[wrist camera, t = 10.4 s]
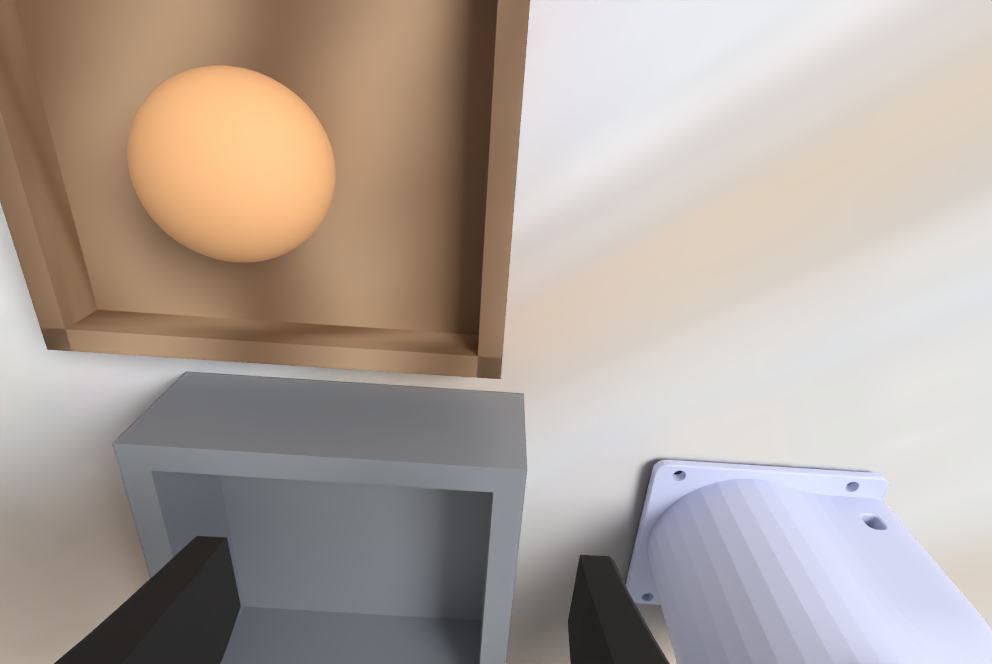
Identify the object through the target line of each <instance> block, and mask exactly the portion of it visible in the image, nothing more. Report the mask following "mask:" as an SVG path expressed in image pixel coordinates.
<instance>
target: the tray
mask: <svg viewBox="0 0 992 664" xmlns="http://www.w3.org/2000/svg"><path fill="white" fill-rule="evenodd" d="M529 6H530V0H0V201H1V205H2V208H3V211H4V214H5V217H6V220H7V224H8V227H9V230H10V233H11V236H12V239H13V243H14V246H15V249H16V252H17V255H18V258H19V261H20V265H21V268H22V271H23V274H24V277H25V280H26V284H27V287H28V290H29V293H30V296H31V299H32V302H33V306H34V309H35V312H36V315H37V318H38V321H39V325H40V328H41V331H42V334H43V337H44V340H45V343H46V347H47V349H48V350H64V351H79V352H94V353H109V354H125V355H140V356H155V357H171V358H186V359H201V360H217V361H232V362H247V363H263V364H278V365H293V366H309V367H324V368H339V369H355V370H370V371H385V372H401V373H416V374H431V375H447V376H462V377H477V378H492V379H501V367H502V354H503V341H504V328H505V315H506V302H507V289H508V277H509V264H510V251H511V238H512V225H513V212H514V199H515V186H516V174H517V161H518V148H519V135H520V122H521V109H522V96H523V84H524V71H525V58H526V45H527V32H528V19H529ZM212 65H226V66H233V67H240V68H245V69H249V70H253V71H256V72H259V73H261V74H264V75H266V76H268V77H270V78H272V79H274V80H276V81H277V82H279V83H281V84H283V85H284V86H286V87H287V88H288V89H290V90H291V91H293V92H294V93H295V94H296V95H297V96H298V97H300V98H301V99H302V100H303V101H304V102H305V103H306V104H307V105H308V107H309V108H310V109H311V110H312V111H313V113H314V114H315V115H316V117H317V118H318V120H319V121H320V123H321V125H322V126H323V128H324V130H325V132H326V134H327V137H328V139H329V142H330V144H331V147H332V151H333V155H334V160H335V169H336V183H335V190H334V195H333V199H332V202H331V206H330V208H329V211H328V213H327V215H326V217H325V219H324V220H323V222H322V223H321V225H320V226H319V228H318V229H317V230H316V231H315V232H314V233H313V235H312V236H311V237H310V238H309V239H307V240H306V241H305V242H304V243H303V244H301V245H300V246H298V247H297V248H295V249H293V250H292V251H290V252H288V253H286V254H284V255H281V256H279V257H276V258H272V259H269V260H265V261H259V262H228V261H222V260H218V259H214V258H210V257H208V256H205V255H202V254H199V253H197V252H195V251H193V250H191V249H189V248H187V247H185V246H183V245H182V244H180V243H179V242H177V241H176V240H174V239H173V238H172V237H170V236H169V235H168V234H167V233H166V232H164V231H163V230H162V229H161V228H160V227H159V226H158V225H157V224H156V222H155V221H154V220H153V219H152V218H151V217H150V215H149V214H148V212H147V211H146V209H145V208H144V207H143V205H142V203H141V201H140V199H139V198H138V196H137V194H136V191H135V189H134V186H133V184H132V180H131V177H130V173H129V168H128V161H127V146H128V138H129V133H130V129H131V126H132V122H133V120H134V117H135V115H136V113H137V111H138V109H139V108H140V106H141V105H142V103H143V102H144V100H145V99H146V98H147V97H148V96H149V95H150V94H151V93H152V91H153V90H154V89H155V88H156V87H158V86H159V85H160V84H162V83H163V82H165V81H166V80H168V79H170V78H171V77H173V76H175V75H177V74H179V73H181V72H184V71H187V70H190V69H194V68H199V67H206V66H212Z"/></svg>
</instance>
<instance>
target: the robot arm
mask: <svg viewBox="0 0 992 664" xmlns="http://www.w3.org/2000/svg"><path fill="white" fill-rule="evenodd" d="M676 471H682V472H681V473H680V474H676V475H675V474H674V473H675V472H676ZM850 482H852V483H851V484H849V485H847V484H848V483H850ZM888 488H889V483H888V481H887V480H886V479H885V477H884V476H882V475H881V474H878V473H869V472H853V471H837V470H822V469H806V468H791V467H775V466H759V465H744V464H728V463H713V462H697V461H681V460H661V461H659V462H657V463H656V464H655V465H654V466H653V469H652V473H651V477H650V481H649V486H648V490H647V494H646V499H645V503H644V507H643V512H642V516H641V520H640V525H639V529H638V533H637V538H636V542H635V546H634V551H633V555H632V559H631V564H630V568H629V572H628V576H627V581H626V585H625V583H624V582H623V579H622V577H621V575H620V573H619V571H618V569H617V567H616V565H615V563H614V561H613V560H612V559H611V558H610V557H609V556H589V555H580V558H579V563H578V569H577V574H576V580H575V585H574V591H573V597H572V602H571V608H570V613H569V619H568V630H569V645H570V659H571V664H670V663H669V662H668V660H667V658H666V657H665V655H664V653H663V652H662V650H661V649H660V647H659V645H658V644H657V642H656V640H655V639H654V637H653V635H652V633H651V632H650V630H649V628H648V626H647V625H646V623H645V621H644V619H643V618H642V616H641V614H640V612H639V610H638V608H637V606H636V605H635V603H637V604H653V605H661V607H662V611H663V614H664V618H665V622H666V625H667V629H668V632H669V636H670V640H671V643H672V647H673V650H674V654H675V657H676V661H677V664H992V630H991V628H990V627H989V625H988V624H987V623H986V622H985V620H984V619H983V618H982V616H981V615H980V614H979V613H978V611H977V610H976V609H975V608H974V607H973V606H972V604H971V603H970V602H969V601H968V600H967V598H966V597H965V596H964V595H963V594H962V593H961V591H960V590H959V589H958V588H957V587H956V586H955V584H954V583H953V582H952V581H951V580H950V578H949V577H948V576H947V575H946V574H945V573H944V571H943V570H942V569H941V568H940V567H939V566H938V564H937V563H936V562H935V561H934V560H933V558H932V557H931V556H930V555H929V554H928V553H927V551H926V550H925V549H924V548H923V547H922V546H921V544H920V543H919V542H918V541H917V540H916V539H915V537H914V536H913V535H912V534H911V533H910V531H909V530H908V529H907V528H906V527H905V526H904V524H903V523H902V522H901V521H900V520H899V519H898V517H897V516H896V515H895V514H894V513H893V511H892V510H891V509H890V508H889V507H888V506H887V504H886V503H885V502H884V501H883V499H884V497H885V495H886V493H887V491H888ZM646 593H648V594H646ZM240 608H241V604H240V599H239V594H238V589H237V584H236V579H235V574H234V569H233V564H232V559H231V554H230V549H229V544H228V539H227V537H209V536H196V537H195V538H194V539H193V540H191V541H190V542H189V543H188V544H187V545H186V546H185V547H184V548H183V549H182V550H181V551H179V552H178V553H177V554H176V555H175V556H174V557H173V558H172V559H171V560H170V561H169V562H168V563H167V564H166V565H164V566H163V567H162V568H161V569H160V570H159V571H158V572H157V573H156V574H155V575H154V576H153V577H152V578H151V579H149V580H148V581H147V582H146V583H145V584H144V585H143V586H142V587H141V588H140V589H139V590H138V591H137V592H135V593H134V594H133V595H132V596H131V597H130V598H129V599H128V600H127V601H126V602H124V603H123V604H122V605H121V606H120V607H119V608H118V609H117V610H115V611H114V612H113V613H112V614H111V615H110V616H109V617H108V618H107V619H105V620H104V621H103V622H102V623H101V624H100V625H99V626H98V627H96V628H95V629H94V630H93V631H92V632H91V633H90V634H89V635H87V636H86V637H85V638H84V639H83V640H82V641H80V642H79V643H78V644H77V645H76V646H74V647H73V648H72V649H71V650H70V651H68V652H67V653H66V654H65V655H64V656H62V657H61V658H60V659H59V660H58V661H56V662H55V663H54V664H220V663H221V661H222V659H223V656H224V653H225V651H226V648H227V645H228V643H229V640H230V637H231V634H232V631H233V628H234V625H235V622H236V619H237V616H238V614H239V611H240Z"/></svg>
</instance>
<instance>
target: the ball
mask: <svg viewBox="0 0 992 664" xmlns="http://www.w3.org/2000/svg"><path fill="white" fill-rule="evenodd" d="M127 161H128V168H129V173H130V177H131V180H132V184H133V186H134V189H135V191H136V194H137V196H138V198H139V199H140V201H141V203H142V205H143V207H144V208H145V209H146V211H147V212H148V214H149V215H150V217H151V218H152V219H153V220H154V221H155V222H156V224H157V225H158V226H159V227H160V228H161V229H162V230H163V231H164V232H166V233H167V234H168V235H169V236H170V237H172V238H173V239H174V240H176V241H177V242H179V243H180V244H182V245H183V246H185V247H187V248H189V249H191V250H193V251H195V252H197V253H199V254H202V255H205V256H208V257H210V258H214V259H218V260H222V261H228V262H259V261H265V260H269V259H272V258H276V257H279V256H281V255H284V254H286V253H288V252H290V251H292V250H293V249H295V248H297V247H298V246H300V245H301V244H303V243H304V242H305V241H306V240H307V239H309V238H310V237H311V236H312V235H313V233H314V232H315V231H316V230H317V229H318V228H319V226H320V225H321V223H322V222H323V220H324V219H325V217H326V215H327V213H328V211H329V208H330V206H331V202H332V199H333V195H334V190H335V183H336V169H335V160H334V155H333V151H332V147H331V144H330V142H329V139H328V137H327V134H326V132H325V130H324V128H323V126H322V125H321V123H320V121H319V120H318V118H317V117H316V115H315V114H314V113H313V111H312V110H311V109H310V108H309V107H308V105H307V104H306V103H305V102H304V101H303V100H302V99H301V98H300V97H298V96H297V95H296V94H295V93H294V92H293V91H291V90H290V89H288V88H287V87H286V86H284V85H283V84H281V83H279V82H277V81H276V80H274V79H272V78H270V77H268V76H266V75H264V74H261V73H259V72H256V71H253V70H249V69H245V68H240V67H233V66H226V65H212V66H206V67H199V68H194V69H190V70H187V71H184V72H181V73H179V74H177V75H175V76H173V77H171V78H170V79H168V80H166V81H165V82H163V83H162V84H160V85H159V86H158V87H156V88H155V89H154V90H153V91H152V93H151V94H150V95H149V96H148V97H147V98H146V99H145V100H144V102H143V103H142V105H141V106H140V108H139V109H138V111H137V113H136V115H135V117H134V120H133V122H132V126H131V129H130V133H129V138H128V146H127Z"/></svg>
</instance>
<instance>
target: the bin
mask: <svg viewBox="0 0 992 664" xmlns="http://www.w3.org/2000/svg"><path fill="white" fill-rule="evenodd" d="M112 444H113V447H114V451H115V454H116V458H117V461H118V465H119V468H120V472H121V475H122V479H123V482H124V486H125V489H126V493H127V496H128V500H129V503H130V507H131V511H132V514H133V518H134V521H135V525H136V528H137V532H138V535H139V539H140V542H141V546H142V549H143V553H144V556H145V560H146V563H147V567H148V570H149V574H150V578H152V577H153V576H154V575H155V574H156V573H157V572H158V571H159V570H160V569H161V568H162V567H163V566H164V565H166V564H167V563H168V562H169V561H170V560H171V559H172V558H173V557H174V556H175V555H176V554H177V553H178V552H179V551H181V550H182V549H183V548H184V547H185V546H186V545H187V544H188V543H189V542H190V541H191V540H193V539H194V538H195V537H196V536H209V537H227V539H228V544H229V549H230V554H231V559H232V564H233V569H234V574H235V579H236V584H237V589H238V594H239V599H240V604H241V608H240V611H239V614H238V616H237V619H236V622H235V625H234V628H233V631H232V634H231V637H230V640H229V643H228V645H227V648H226V651H225V653H224V656H223V659H222V661H221V663H220V664H506V657H507V648H508V639H509V629H510V620H511V611H512V602H513V593H514V584H515V575H516V566H517V557H518V548H519V539H520V530H521V521H522V512H523V503H524V493H525V484H526V475H527V456H526V434H525V412H524V394H519V393H504V392H488V391H473V390H458V389H442V388H427V387H412V386H396V385H381V384H365V383H350V382H335V381H319V380H304V379H289V378H273V377H258V376H242V375H227V374H212V373H196V372H186V373H185V374H184V375H183V376H182V377H181V378H179V379H178V380H177V381H176V382H175V383H174V384H173V385H172V386H171V387H170V388H169V389H168V390H167V391H166V392H165V393H164V394H163V395H162V396H161V397H160V398H159V399H158V400H157V401H156V402H155V403H154V404H153V405H152V406H151V407H150V408H148V409H147V410H146V411H145V412H144V413H143V414H142V415H141V416H140V417H139V418H138V419H137V420H136V421H135V422H134V423H133V424H132V425H131V426H130V427H129V428H128V429H127V430H126V431H125V432H124V433H123V434H122V435H121V436H120V437H119V438H117V439H116V440H115V441H114V442H113V443H112Z"/></svg>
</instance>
